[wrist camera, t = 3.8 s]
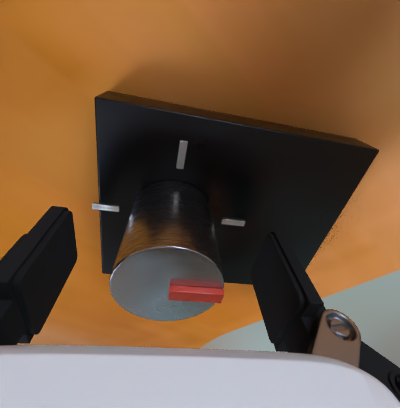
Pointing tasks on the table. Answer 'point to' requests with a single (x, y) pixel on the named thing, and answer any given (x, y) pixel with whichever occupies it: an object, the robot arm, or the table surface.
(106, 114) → the black knob panel
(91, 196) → the table surface
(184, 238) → the hob knob
